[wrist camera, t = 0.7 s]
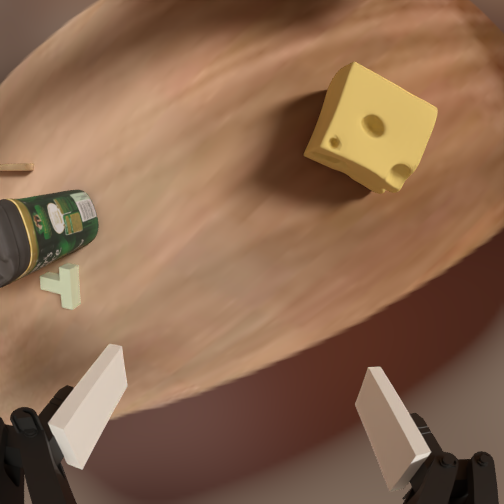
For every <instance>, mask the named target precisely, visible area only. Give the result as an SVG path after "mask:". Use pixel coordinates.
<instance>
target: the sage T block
mask: <svg viewBox="0 0 504 504" xmlns="http://www.w3.org/2000/svg"><path fill="white" fill-rule="evenodd" d="M40 285H41V289H42V290H46V291H50V292H54V293H57V294H61V302H62V307H63V308H67V309H71V310H73V309H75V308H76V307H77V306H78V305H80V304H81V302H80V287H79V265H76V264H71V263H66V264H64V265H62V266H61V267H59V274H57V273H52V272H47V273H45V274H43V275H41V276H40Z"/></svg>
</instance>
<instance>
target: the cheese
mask: <svg viewBox="0 0 504 504" xmlns="http://www.w3.org/2000/svg"><path fill="white" fill-rule="evenodd" d="M436 117H437V108H436V107H434V106H433V105H431V104H429V103H428V102H426V101H424V100H422V99H420V98H418V97H416V96H414V95H413V94H411V93H409V92H407V91H406V90H404V89H402V88H401V87H399V86H397V85H396V84H394V83H392V82H390V81H389V80H387V79H385V78H383V77H381V76H380V75H378V74H376V73H374V72H372V71H371V70H369V69H367V68H365V67H363V66H362V65H360V64H358V63H356V62H352V63H350V64H348V65H346V66H344V67H343V68H341V69H340V70H339V71H338V72H337V73H336V75H335V76H334V78H333V79H332V81H331V83H330V85H329V87H328V90H327V93H326V96H325V100H324V104H323V107H322V110H321V113H320V115H319V118H318V121H317V124H316V127H315V129H314V131H313V134H312V136H311V138H310V141H309V143H308V145H307V147H306V150H305V152H304V156H305V157H307V158H309V159H311V160H314V161H316V162H318V163H320V164H323V165H325V166H327V167H329V168H332V169H335V170H338V171H341V172H343V173H345V174H347V175H348V176H350V178H351V179H353V180H355V181H357V182H358V183H360V184H362V185H363V186H365V187H367V188H368V189H370V190H371V191H373V192H375V193H379V194H382V193H384V192H385V190H387V191H389V192H392V193H395V192H398V191H399V190H400V189H401V187H402V185H403V183H404V182H405V180H406V179H407V178H408V177H409V176H410V175H411V174H412V173H413V172H414V171H415V169H416V168H417V166H418V164H419V162H420V160H421V157H422V155H423V152H424V150H425V147H426V145H427V142H428V140H429V137H430V135H431V133H432V130H433V127H434V124H435V121H436Z"/></svg>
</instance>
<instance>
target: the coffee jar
mask: <svg viewBox="0 0 504 504" xmlns="http://www.w3.org/2000/svg"><path fill="white" fill-rule="evenodd" d="M97 232H98V218H97V214H96V210H95V207H94V205H93V203H92V201H91V199H90V197H89V196H88V195H87V194H86V193H85V192H84V191H82V190H70V191H63V192H57V193H52V194H46V195H40V196H34V197H28V198H22V199H2V200H0V288H1V287H3V286H5V285H8V284H10V283H12V282H14V281H16V280H18V279H20V278H22V277H24V276H26V275H28V274H30V273H32V272H34V271H36V270H38V269H40V268H42V267H44V266H46V265H48V264H50V263H52V262H54V261H56V260H57V259H59V258H61V257H64V256H66V255H68V254H70V253H72V252H74V251H76V250H78V249H80V248H82V247H84V246H85V245H87V244H88V243H90V242H91V241H92V240H93V239H94V238H95V237H96V235H97Z"/></svg>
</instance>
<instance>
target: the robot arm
mask: <svg viewBox="0 0 504 504" xmlns="http://www.w3.org/2000/svg"><path fill="white" fill-rule="evenodd" d="M126 388H127V379H126V373H125V366H124V358H123V350H122V346H119V345H114V344H109V345H108V346H107V347H106V348H105V350H104V351H103V352H102V353H101V355H100V356H99V357H98V358H97V360H96V361H95V362H94V363H93V365H92V366H91V367H90V368H89V370H88V371H87V372H86V373H85V375H84V376H83V377H82V379H81V380H80V381H79V382H78V384H77V385H76V386H75V388H74V387H71V386H68V385H67V386H65V387H63V388H62V389H60V390H59V391H58V392H57V393H56V394H55V396H54V398H52V399H51V401H50V403H48V404H47V406H46V407H45V408H44V409H43V411H42V412H41V413H40V414H39V416H37V413H36V412H35V411H34V410H33V409H31V408H28V407H21V408H18V409H16V410H15V411H13V413H12V414H11V417H10V420H11V422H12V424H13V426H11V425H6V424H4V422H3V420H2V418H1V417H0V504H24V474H25V478H26V482H27V486H28V490H29V493H30V497H31V501H32V504H77V503H76V501H75V498H74V496H73V493H72V491H71V488H70V486H69V483H68V480H67V478H66V475H65V472H64V469H63V466H62V464H61V460H62V459H63V457H64V458H65V460H66V462H67V464H69V465H72V466H74V467H77V468H79V469H83V467H84V465H85V463H86V461H87V459H88V458H89V456H90V454H91V452H92V450H93V448H94V446H95V444H96V442H97V440H98V439H99V437H100V435H101V433H102V431H103V429H104V427H105V426H106V424H107V422H108V420H109V418H110V416H111V415H112V413H113V411H114V409H115V407H116V405H117V404H118V402H119V400H120V398H121V396H122V395H123V393H124V391H125V389H126ZM355 406H356V408H357V411H358V413H359V416H360V418H361V420H362V423H363V425H364V428H365V430H366V433H367V435H368V438H369V440H370V443H371V445H372V448H373V450H374V453H375V455H376V458H377V460H378V463H379V466H380V468H381V471H382V473H383V476H384V479H385V481H386V484H387V487H388V489H389V492H391V491H396V490H400V489H404V488H405V487H406V485H407V484H408V483H409V482H410V483H411V485H412V488H411V489H410V490H409V491H408V492H407V494H406V495H405V496H404V497H403V499H405V500H404V503H403V504H499V502H498V490H497V482H496V473H495V466H494V460H493V458H492V457H491V455H490V454H488V453H486V452H482V451H481V452H477V453H475V454H474V456H473V457H472V458H471V459H460V460H458V459H457V458H456V457H455V456H454V455H453V454H451V453H448V452H447V453H446V452H443V451H442V449H441V447H440V446H439V444H438V442H437V441H436V439H435V437H434V436H433V434H432V433H431V431H430V429H429V427H427V424H426V423H425V421H424V420H423V418H421V417H420V416H419V415H418V414H416V413H413V414H409V413H408V411H407V409H406V408H405V406H404V404H403V403H402V401H401V399H400V398H399V396H398V394H397V393H396V391H395V390H394V388H393V386H392V385H391V383H390V381H389V380H388V378H387V376H386V375H385V374H384V372H383V370H382V368H381V367H368V369H367V372H366V375H365V378H364V381H363V384H362V387H361V390H360V392H359V396H358V398H357V401H356V403H355Z"/></svg>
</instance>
